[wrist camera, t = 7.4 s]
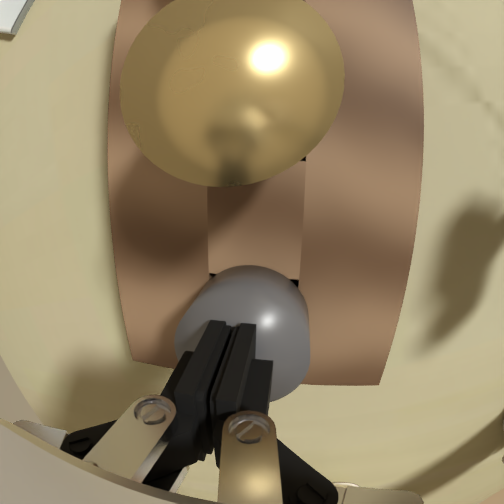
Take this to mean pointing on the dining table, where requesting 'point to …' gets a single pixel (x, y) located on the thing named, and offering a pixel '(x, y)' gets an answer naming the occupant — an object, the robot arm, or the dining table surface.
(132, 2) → the knob panel
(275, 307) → the knob
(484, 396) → the dining table surface
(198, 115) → the knob middle
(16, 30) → the hard drive
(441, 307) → the dining table surface
